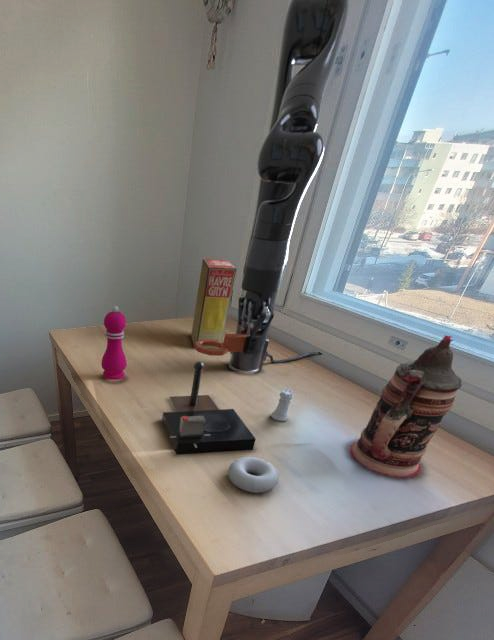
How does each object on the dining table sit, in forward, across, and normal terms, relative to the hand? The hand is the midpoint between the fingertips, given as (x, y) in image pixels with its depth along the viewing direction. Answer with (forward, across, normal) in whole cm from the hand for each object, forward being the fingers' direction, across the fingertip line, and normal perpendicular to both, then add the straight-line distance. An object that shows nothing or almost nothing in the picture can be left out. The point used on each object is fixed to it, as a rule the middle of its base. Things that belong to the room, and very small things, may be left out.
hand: (245, 350), depth 94 cm
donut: (+18, -26, +5) cm, 31 cm away
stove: (+17, -9, +9) cm, 22 cm away
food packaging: (+17, +54, -11) cm, 57 cm away
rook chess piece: (+17, -2, -12) cm, 21 cm away
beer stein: (+18, -21, -27) cm, 39 cm away
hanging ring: (0, 0, +5) cm, 5 cm away
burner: (+14, -7, +8) cm, 18 cm away
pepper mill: (+17, +26, +26) cm, 41 cm away
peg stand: (+17, +6, +8) cm, 20 cm away
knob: (+14, -12, +14) cm, 24 cm away
